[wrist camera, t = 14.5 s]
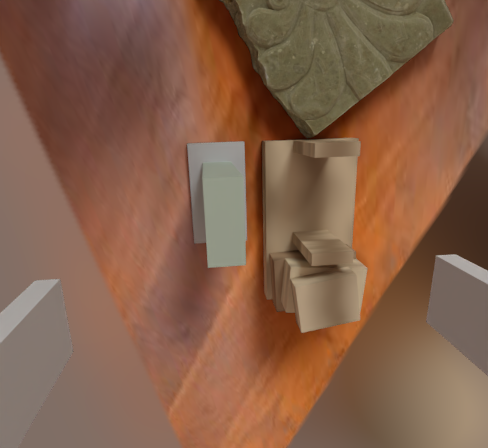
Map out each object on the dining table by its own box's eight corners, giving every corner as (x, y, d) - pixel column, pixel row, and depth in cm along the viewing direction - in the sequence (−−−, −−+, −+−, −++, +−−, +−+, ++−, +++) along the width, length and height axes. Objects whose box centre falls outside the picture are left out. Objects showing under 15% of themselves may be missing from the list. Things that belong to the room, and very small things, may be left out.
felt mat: (194, 241, 39) (194, 243, 39) (187, 143, 36) (187, 143, 36) (246, 238, 40) (246, 240, 39) (243, 141, 37) (244, 141, 36)
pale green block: (206, 225, 38) (207, 267, 27) (202, 162, 36) (202, 178, 25) (233, 224, 38) (245, 265, 27) (230, 161, 37) (243, 176, 25)
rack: (264, 291, 42) (279, 334, 33) (262, 140, 37) (279, 144, 28) (342, 285, 43) (377, 325, 34) (350, 137, 38) (394, 140, 29)
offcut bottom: (272, 301, 40) (276, 311, 38) (269, 253, 38) (273, 261, 36) (346, 291, 41) (355, 301, 38) (346, 244, 39) (355, 251, 37)
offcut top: (296, 321, 35) (301, 332, 33) (290, 278, 34) (295, 287, 32) (351, 309, 36) (360, 320, 34) (348, 266, 34) (356, 274, 32)
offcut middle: (280, 301, 37) (286, 312, 35) (284, 258, 36) (290, 267, 34) (350, 300, 38) (360, 312, 36) (356, 259, 37) (367, 268, 35)
